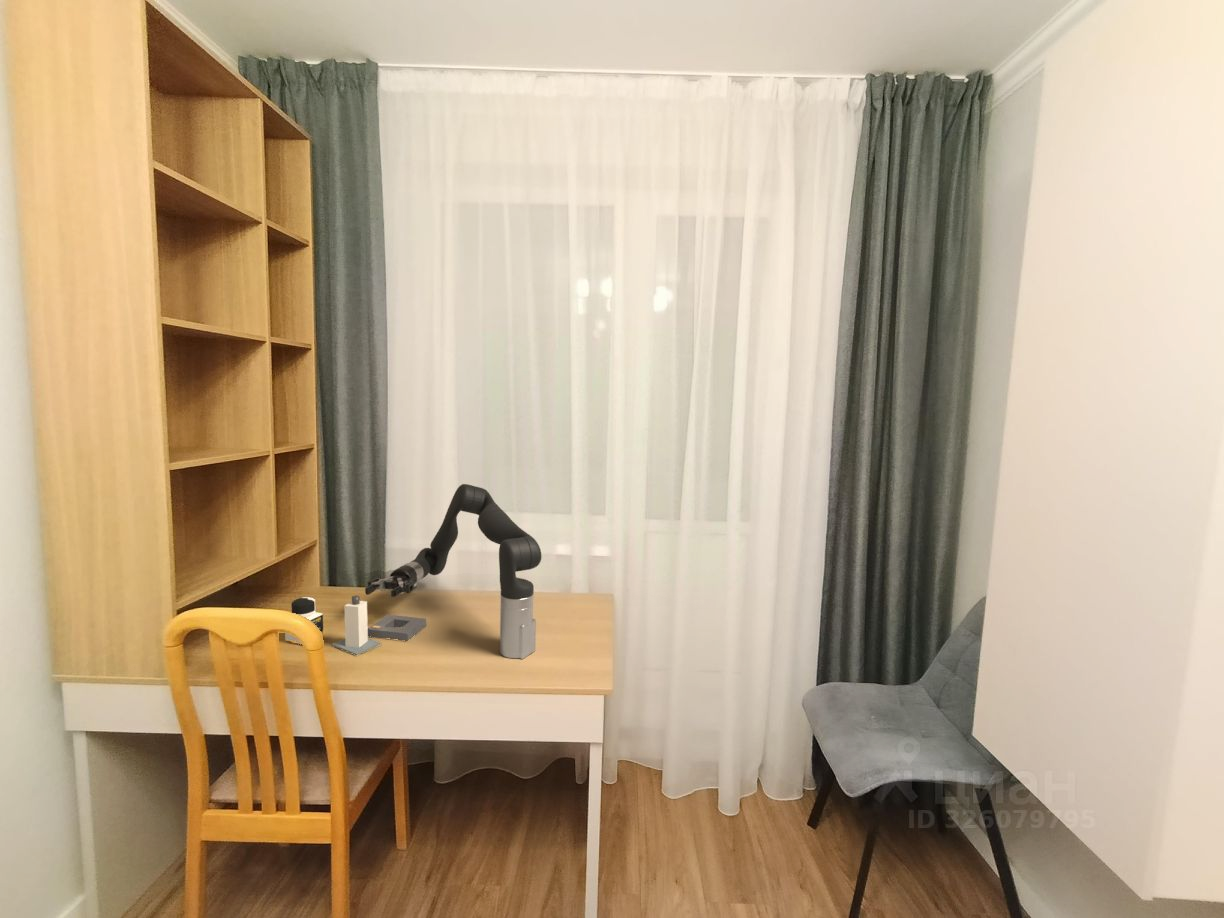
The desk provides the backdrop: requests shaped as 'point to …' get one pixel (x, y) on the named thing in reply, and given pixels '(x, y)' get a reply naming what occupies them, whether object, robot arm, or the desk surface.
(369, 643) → the mat
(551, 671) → the desk surface
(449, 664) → the desk surface
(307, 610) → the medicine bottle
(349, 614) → the plug
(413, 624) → the socket block
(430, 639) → the desk surface
